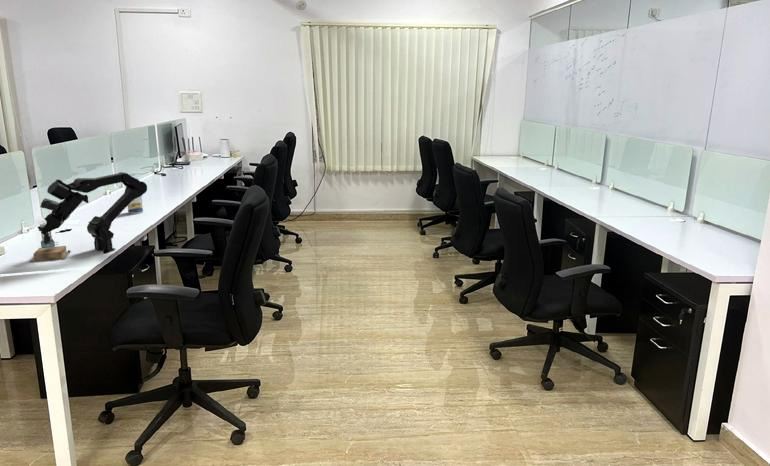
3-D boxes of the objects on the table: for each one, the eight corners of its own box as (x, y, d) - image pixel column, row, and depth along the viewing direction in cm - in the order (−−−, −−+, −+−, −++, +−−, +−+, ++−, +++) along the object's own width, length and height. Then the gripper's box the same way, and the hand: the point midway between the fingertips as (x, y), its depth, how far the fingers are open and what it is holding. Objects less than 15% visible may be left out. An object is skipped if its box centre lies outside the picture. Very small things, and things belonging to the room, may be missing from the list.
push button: (57, 244, 236) (54, 221, 233) (60, 246, 232) (56, 223, 229) (40, 247, 232) (36, 224, 229) (42, 249, 228) (38, 226, 225)
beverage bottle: (146, 211, 329) (142, 178, 324) (138, 214, 320) (135, 180, 316) (132, 210, 329) (129, 177, 324) (125, 213, 321) (121, 180, 316)
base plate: (71, 253, 241) (71, 249, 240) (65, 261, 229) (64, 258, 229) (37, 255, 237) (37, 252, 236) (29, 264, 225) (29, 260, 224)
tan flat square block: (66, 252, 239) (65, 245, 238) (61, 258, 230) (60, 251, 229) (40, 254, 236) (39, 247, 235) (34, 260, 226) (33, 253, 226)
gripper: (57, 188, 236) (31, 215, 235) (46, 195, 219) (19, 224, 218) (80, 204, 240) (55, 231, 239) (71, 213, 223) (45, 242, 222)
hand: (43, 232), depth 230 cm, fingers closed on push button, 5 cm apart
